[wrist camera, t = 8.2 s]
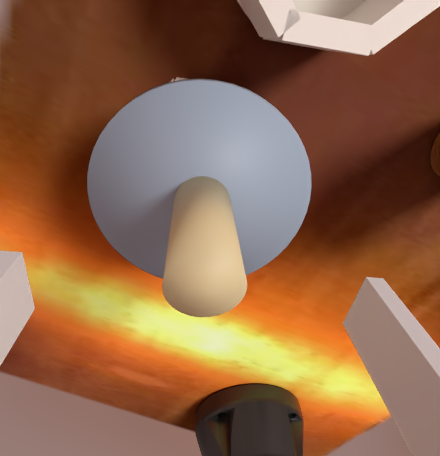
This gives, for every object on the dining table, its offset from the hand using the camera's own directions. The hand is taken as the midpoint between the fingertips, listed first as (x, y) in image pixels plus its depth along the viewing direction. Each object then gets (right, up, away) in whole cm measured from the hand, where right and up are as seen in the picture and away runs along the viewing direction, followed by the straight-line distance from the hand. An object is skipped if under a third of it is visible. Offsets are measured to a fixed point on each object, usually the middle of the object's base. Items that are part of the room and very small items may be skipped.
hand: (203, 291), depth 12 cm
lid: (0, +4, +6) cm, 8 cm away
